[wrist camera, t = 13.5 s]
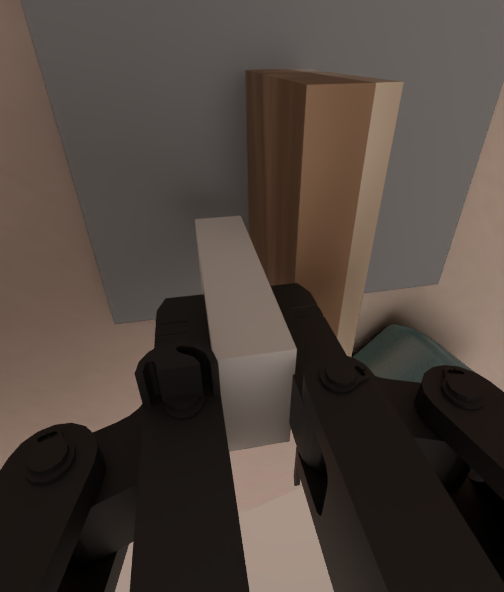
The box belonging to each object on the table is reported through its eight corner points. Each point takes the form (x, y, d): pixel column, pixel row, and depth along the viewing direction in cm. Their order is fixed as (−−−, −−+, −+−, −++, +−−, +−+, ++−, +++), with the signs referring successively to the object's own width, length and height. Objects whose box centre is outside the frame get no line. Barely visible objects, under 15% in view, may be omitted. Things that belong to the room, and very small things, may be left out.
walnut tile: (249, 279, 20) (288, 386, 14) (245, 69, 15) (306, 85, 8) (291, 274, 21) (347, 377, 14) (302, 68, 15) (404, 82, 9)
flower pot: (373, 410, 31) (437, 522, 24) (303, 374, 27) (354, 497, 19) (458, 342, 28) (561, 445, 21) (394, 289, 24) (494, 396, 16)
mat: (115, 317, 21) (114, 324, 20) (5, -72, 12) (-2, -77, 11) (432, 279, 24) (437, 284, 23) (536, -56, 15) (549, -60, 14)
